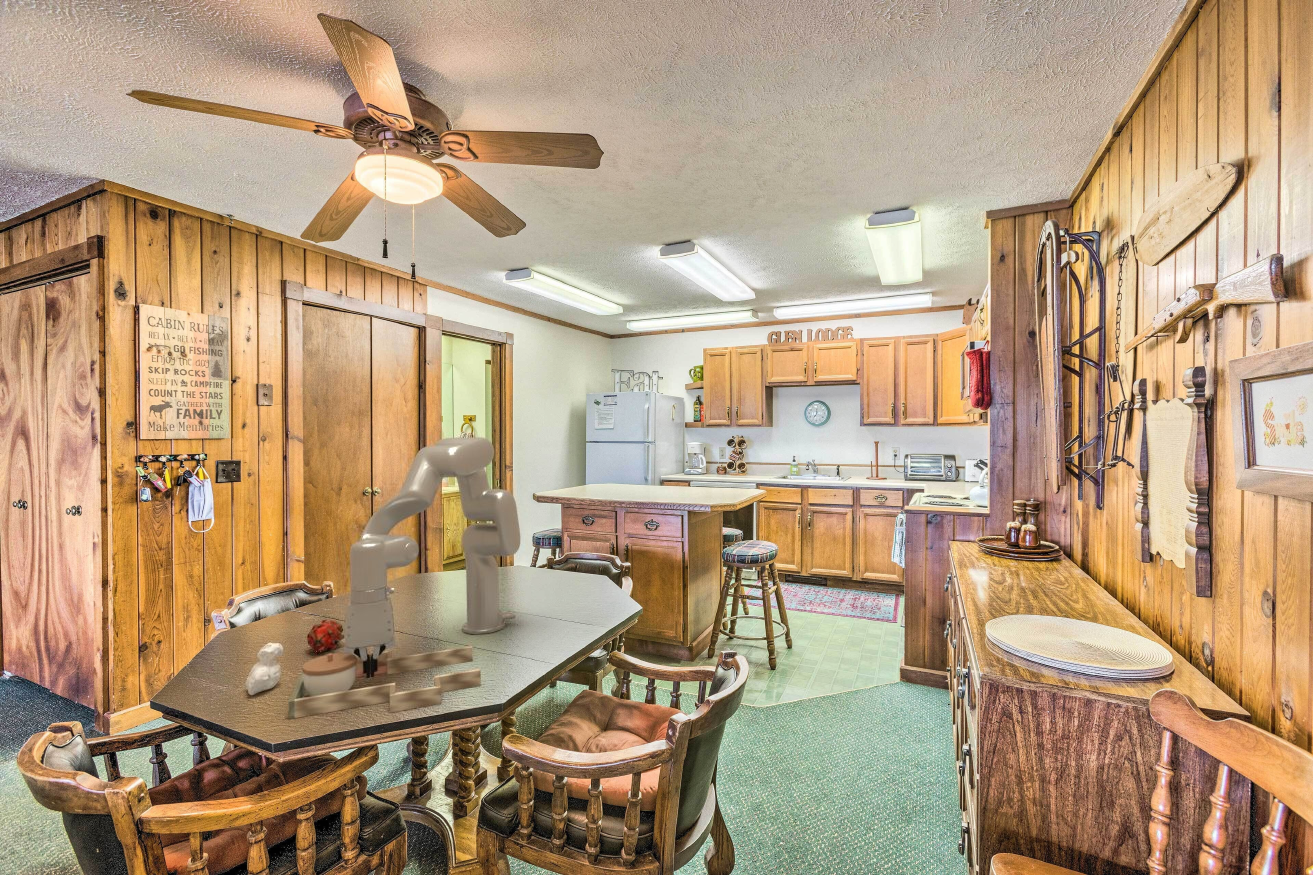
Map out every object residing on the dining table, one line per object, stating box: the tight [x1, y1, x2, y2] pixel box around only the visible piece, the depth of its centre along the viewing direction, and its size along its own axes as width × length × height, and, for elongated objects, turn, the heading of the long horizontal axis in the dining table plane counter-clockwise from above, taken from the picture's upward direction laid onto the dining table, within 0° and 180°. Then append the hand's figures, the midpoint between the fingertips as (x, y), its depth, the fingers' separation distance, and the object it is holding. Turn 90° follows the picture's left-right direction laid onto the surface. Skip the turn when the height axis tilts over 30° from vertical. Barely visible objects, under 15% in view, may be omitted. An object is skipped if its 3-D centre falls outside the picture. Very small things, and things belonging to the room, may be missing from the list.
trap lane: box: [288, 645, 482, 720], centre depth 137 cm, size 38×30×4 cm
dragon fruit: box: [306, 619, 345, 655], centre depth 163 cm, size 8×8×12 cm
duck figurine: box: [245, 642, 284, 696], centre depth 138 cm, size 12×8×11 cm
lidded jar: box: [301, 652, 357, 697], centre depth 132 cm, size 11×11×9 cm
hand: (370, 675), depth 135 cm, fingers closed
